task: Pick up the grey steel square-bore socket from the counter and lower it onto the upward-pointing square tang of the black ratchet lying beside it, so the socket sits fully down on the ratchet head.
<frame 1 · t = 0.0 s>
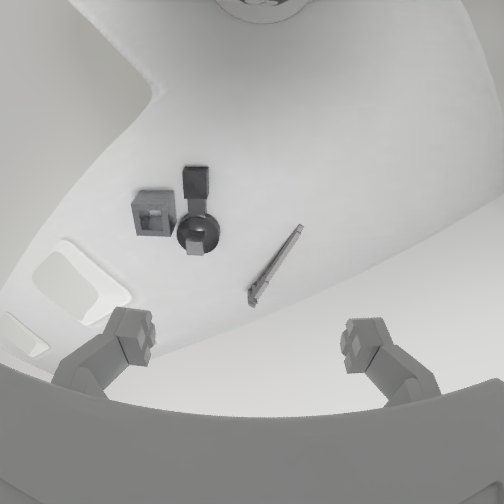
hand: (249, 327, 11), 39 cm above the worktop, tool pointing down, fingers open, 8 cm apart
caliper: (273, 259, 60), on the worktop
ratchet: (199, 229, 55), on the worktop
socket: (158, 206, 52), on the worktop
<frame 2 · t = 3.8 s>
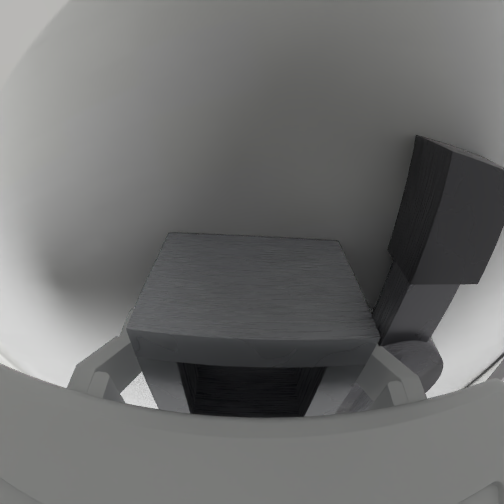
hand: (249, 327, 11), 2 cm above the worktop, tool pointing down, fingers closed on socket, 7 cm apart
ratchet: (370, 361, 16), on the worktop
socket: (249, 301, 13), on the worktop, touching gripper
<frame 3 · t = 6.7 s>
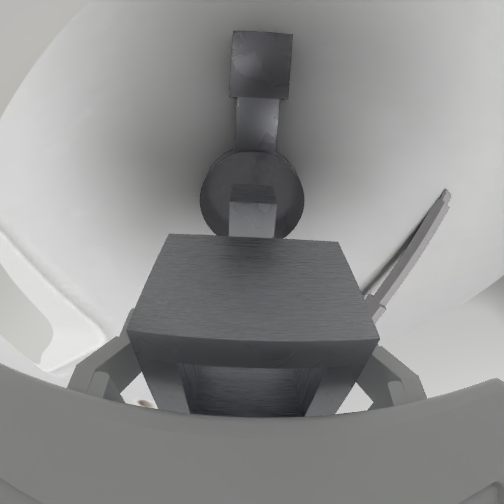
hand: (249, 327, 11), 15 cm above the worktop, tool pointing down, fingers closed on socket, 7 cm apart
caliper: (387, 262, 28), on the worktop
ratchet: (252, 191, 24), on the worktop
socket: (249, 302, 13), point 13 cm above the worktop, touching gripper
when the fingers open (5 cm above the worktop, at t = 9.2 s): socket drops 1 cm, resting on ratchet.
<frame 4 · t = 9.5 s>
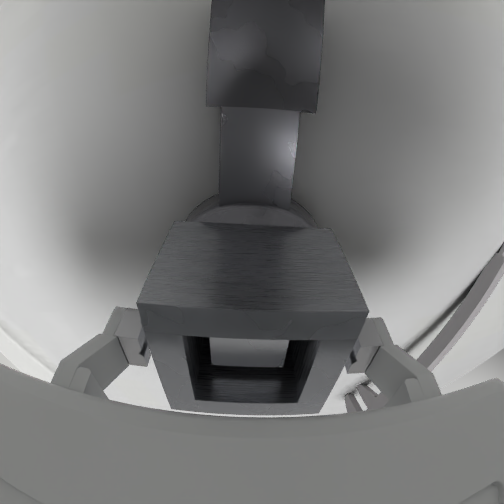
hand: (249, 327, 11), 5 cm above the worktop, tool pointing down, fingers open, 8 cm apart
caliper: (424, 329, 20), on the worktop
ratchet: (249, 257, 16), on the worktop, touching socket
socket: (249, 287, 14), point 2 cm above the worktop, touching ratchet
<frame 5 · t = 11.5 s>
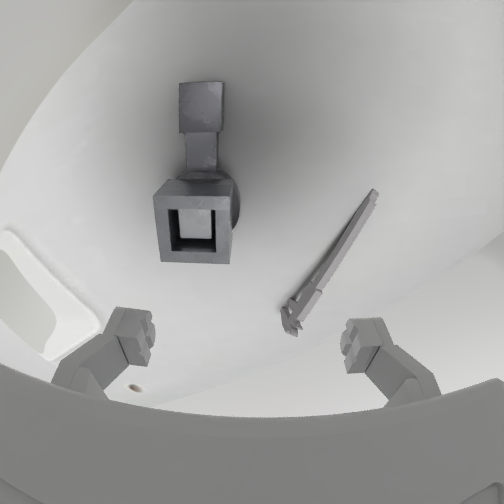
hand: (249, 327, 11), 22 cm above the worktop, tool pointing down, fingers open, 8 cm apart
caliper: (326, 254, 36), on the worktop
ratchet: (204, 200, 31), on the worktop, touching socket
socket: (200, 209, 29), point 2 cm above the worktop, touching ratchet
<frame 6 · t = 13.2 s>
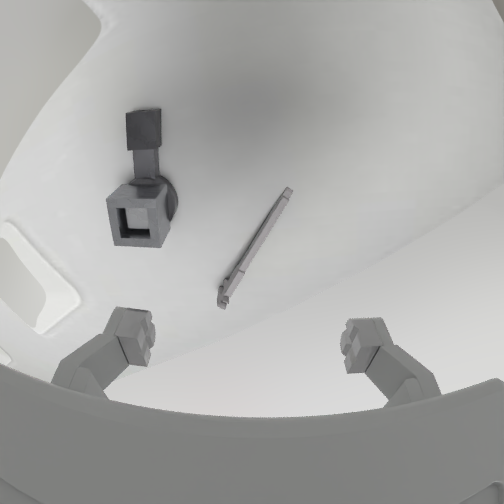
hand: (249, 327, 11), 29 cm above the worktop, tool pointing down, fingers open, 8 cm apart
caliper: (252, 242, 44), on the worktop
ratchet: (151, 199, 39), on the worktop, touching socket
socket: (145, 206, 37), point 2 cm above the worktop, touching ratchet
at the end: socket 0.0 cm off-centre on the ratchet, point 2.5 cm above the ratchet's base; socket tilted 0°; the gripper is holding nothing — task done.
